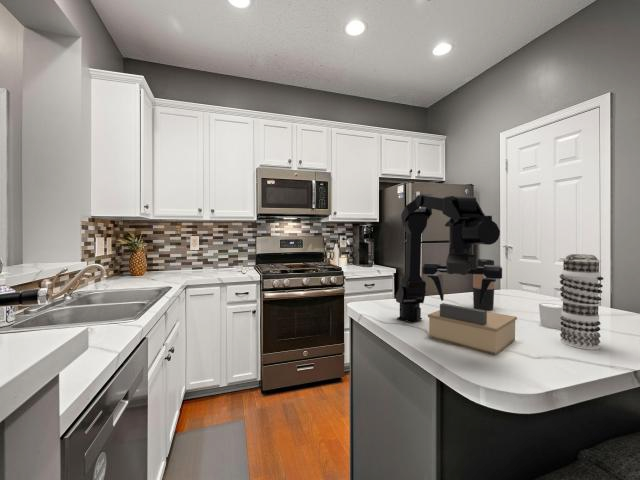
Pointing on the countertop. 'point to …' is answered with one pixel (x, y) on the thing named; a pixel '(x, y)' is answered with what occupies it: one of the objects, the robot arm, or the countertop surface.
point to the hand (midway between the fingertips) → (460, 302)
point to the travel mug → (477, 282)
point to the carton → (472, 336)
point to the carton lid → (472, 317)
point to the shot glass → (550, 315)
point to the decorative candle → (580, 301)
